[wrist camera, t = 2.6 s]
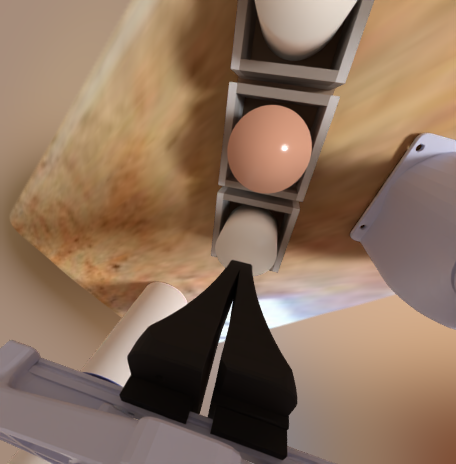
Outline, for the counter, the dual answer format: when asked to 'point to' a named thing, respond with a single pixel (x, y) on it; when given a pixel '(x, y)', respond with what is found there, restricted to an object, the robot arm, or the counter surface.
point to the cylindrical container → (123, 342)
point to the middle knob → (269, 149)
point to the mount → (287, 95)
